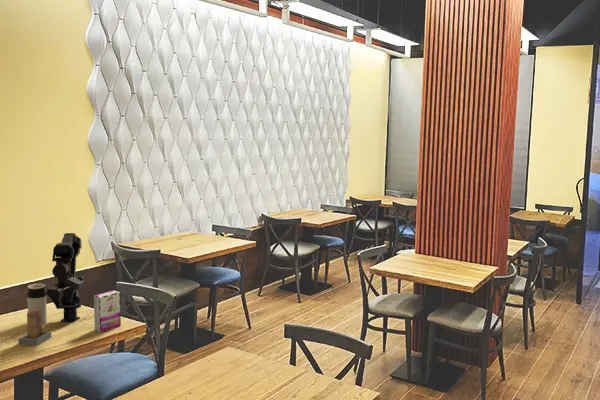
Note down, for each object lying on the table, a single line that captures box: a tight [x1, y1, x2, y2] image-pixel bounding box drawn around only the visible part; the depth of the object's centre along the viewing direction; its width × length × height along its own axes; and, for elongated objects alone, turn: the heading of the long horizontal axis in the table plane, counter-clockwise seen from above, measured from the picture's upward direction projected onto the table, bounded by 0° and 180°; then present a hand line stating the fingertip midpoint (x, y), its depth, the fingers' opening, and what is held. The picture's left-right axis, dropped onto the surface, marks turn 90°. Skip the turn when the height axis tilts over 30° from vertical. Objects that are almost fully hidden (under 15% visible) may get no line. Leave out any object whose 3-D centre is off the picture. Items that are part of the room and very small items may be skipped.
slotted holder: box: [17, 330, 52, 347], centre depth 250 cm, size 10×8×2 cm
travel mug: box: [26, 283, 48, 326], centre depth 270 cm, size 8×8×18 cm
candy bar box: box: [93, 290, 122, 333], centre depth 267 cm, size 11×5×16 cm, turn 143°
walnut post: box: [26, 310, 43, 339], centre depth 249 cm, size 5×4×13 cm
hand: (64, 305), depth 260 cm, fingers open, 9 cm apart
